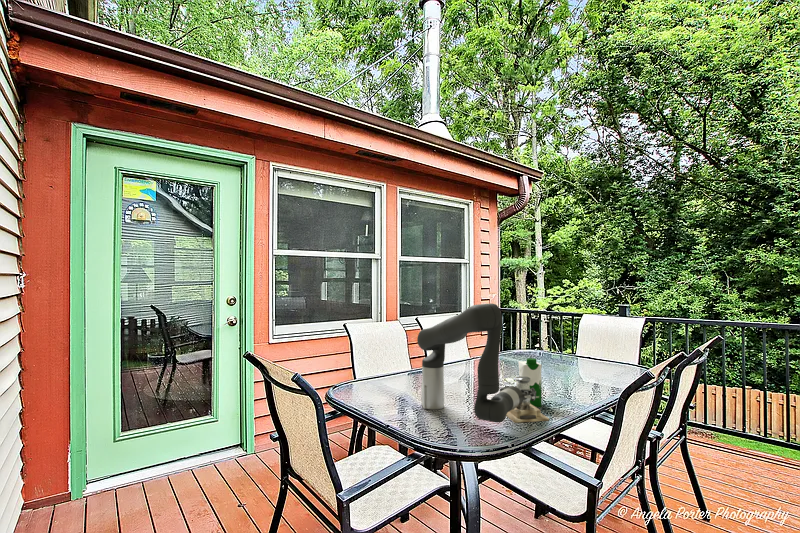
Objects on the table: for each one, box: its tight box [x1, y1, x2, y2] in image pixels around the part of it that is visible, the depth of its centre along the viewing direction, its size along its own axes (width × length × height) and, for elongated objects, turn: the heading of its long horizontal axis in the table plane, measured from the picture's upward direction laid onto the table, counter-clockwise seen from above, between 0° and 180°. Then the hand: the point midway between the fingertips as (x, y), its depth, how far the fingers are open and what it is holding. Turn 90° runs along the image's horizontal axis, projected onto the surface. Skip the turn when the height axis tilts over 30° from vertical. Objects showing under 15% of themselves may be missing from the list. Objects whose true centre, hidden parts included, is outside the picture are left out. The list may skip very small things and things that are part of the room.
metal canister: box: [514, 375, 531, 410], centre depth 163 cm, size 6×6×14 cm
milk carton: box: [518, 357, 543, 408], centre depth 178 cm, size 9×9×20 cm
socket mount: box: [506, 404, 550, 424], centre depth 163 cm, size 14×14×3 cm
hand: (525, 389), depth 166 cm, fingers open, 5 cm apart
